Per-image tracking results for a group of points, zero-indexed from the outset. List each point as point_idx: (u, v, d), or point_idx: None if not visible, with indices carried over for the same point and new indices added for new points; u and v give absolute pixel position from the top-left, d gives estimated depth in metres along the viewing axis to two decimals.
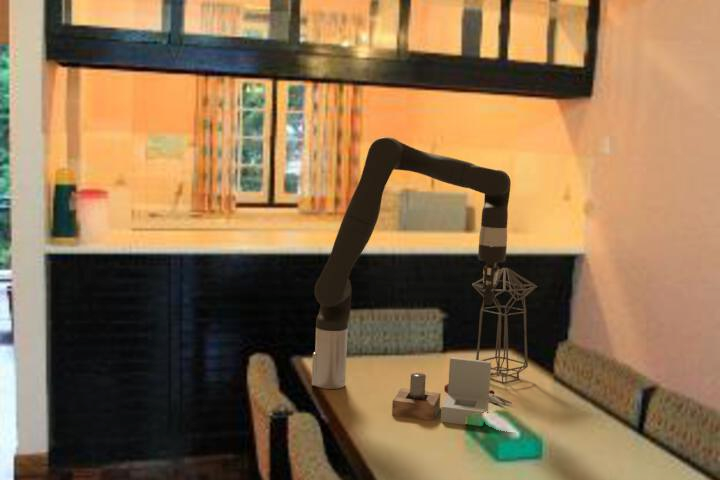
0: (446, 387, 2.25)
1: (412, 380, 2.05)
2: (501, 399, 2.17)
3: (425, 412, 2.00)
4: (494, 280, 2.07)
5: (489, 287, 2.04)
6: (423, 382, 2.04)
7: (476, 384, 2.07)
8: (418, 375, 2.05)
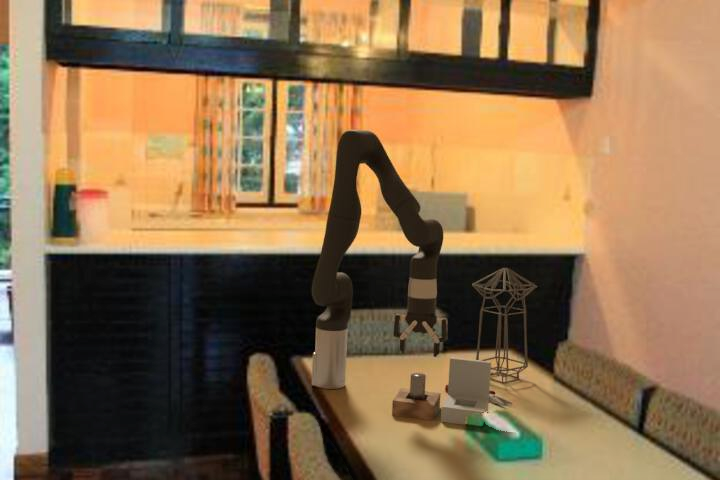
0: (447, 387, 2.24)
1: (412, 380, 2.05)
2: (502, 400, 2.16)
3: (425, 412, 2.00)
4: (435, 330, 2.04)
5: (446, 337, 2.03)
6: (423, 382, 2.04)
7: (476, 384, 2.07)
8: (418, 375, 2.05)
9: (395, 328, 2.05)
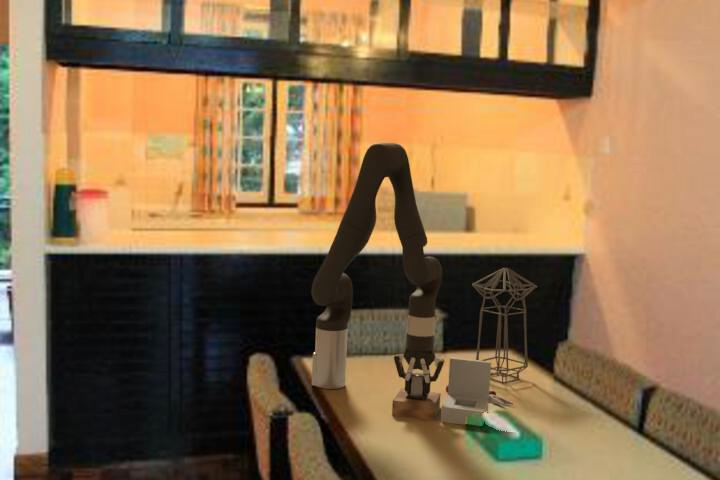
0: (447, 388, 2.24)
1: (412, 380, 2.05)
2: (502, 400, 2.16)
3: (425, 412, 2.00)
4: (429, 369, 2.06)
5: None
6: (423, 382, 2.04)
7: (476, 384, 2.07)
8: (418, 375, 2.05)
9: (398, 369, 2.06)
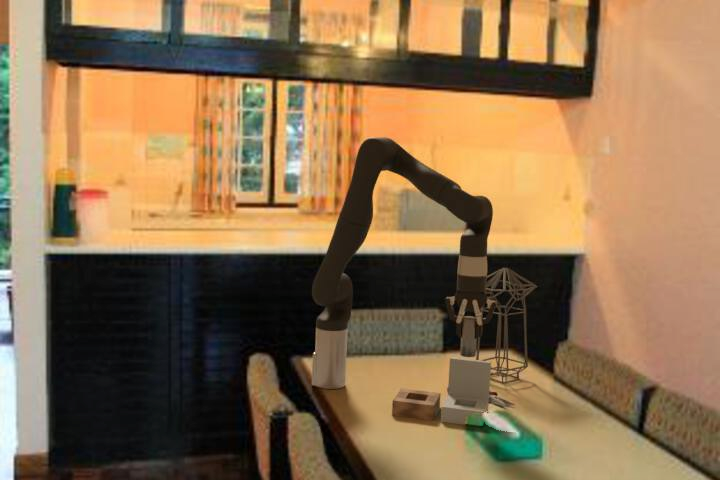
0: None
1: (464, 322, 1.99)
2: (504, 401, 2.15)
3: (425, 412, 2.00)
4: (481, 312, 2.01)
5: None
6: (475, 324, 1.99)
7: (476, 384, 2.07)
8: (470, 317, 2.00)
9: (449, 312, 2.00)
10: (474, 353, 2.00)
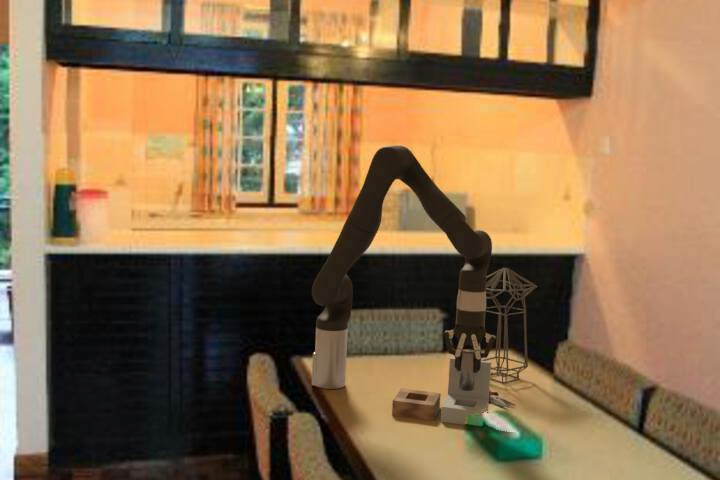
0: None
1: (462, 356, 2.00)
2: (505, 401, 2.15)
3: (425, 412, 2.00)
4: (479, 345, 2.02)
5: None
6: (474, 358, 2.00)
7: (476, 384, 2.07)
8: (468, 351, 2.01)
9: (448, 345, 2.01)
10: (472, 387, 2.01)
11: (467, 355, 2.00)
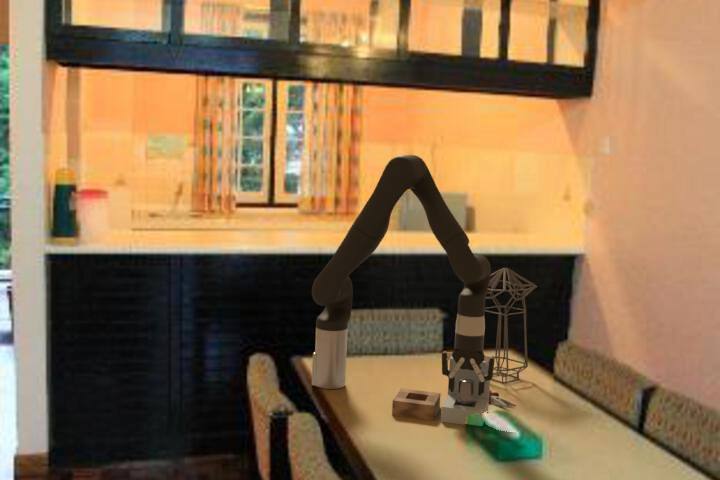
0: None
1: (460, 386, 2.01)
2: (505, 402, 2.15)
3: (425, 412, 2.00)
4: (481, 368, 2.02)
5: (491, 376, 2.01)
6: (472, 388, 2.01)
7: (476, 384, 2.07)
8: (466, 381, 2.02)
9: (443, 366, 2.02)
10: None
11: (465, 385, 2.01)
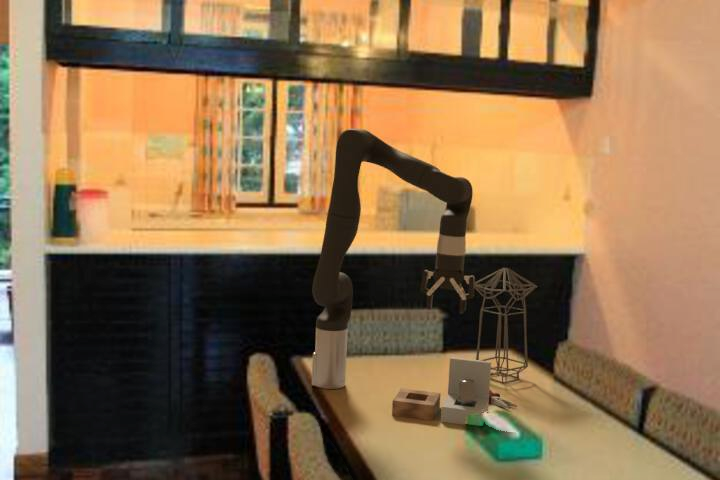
0: None
1: (460, 386, 2.01)
2: (506, 402, 2.14)
3: (425, 412, 2.00)
4: (462, 287, 2.07)
5: (473, 295, 2.06)
6: (472, 388, 2.01)
7: (476, 384, 2.07)
8: (466, 381, 2.02)
9: (422, 284, 2.07)
10: None
11: (465, 385, 2.01)
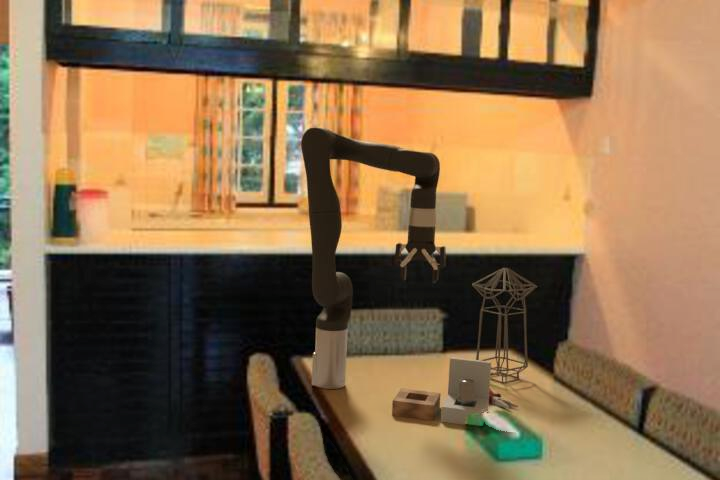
0: None
1: (461, 386, 2.01)
2: (507, 403, 2.14)
3: (425, 412, 2.00)
4: (434, 258, 2.16)
5: (444, 265, 2.14)
6: (472, 388, 2.01)
7: (476, 384, 2.07)
8: (466, 381, 2.02)
9: (396, 256, 2.16)
10: None
11: (465, 385, 2.00)
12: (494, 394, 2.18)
